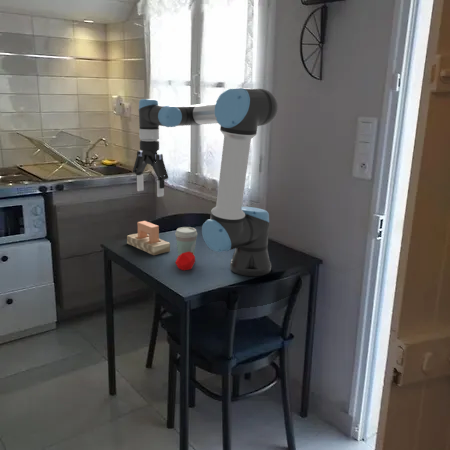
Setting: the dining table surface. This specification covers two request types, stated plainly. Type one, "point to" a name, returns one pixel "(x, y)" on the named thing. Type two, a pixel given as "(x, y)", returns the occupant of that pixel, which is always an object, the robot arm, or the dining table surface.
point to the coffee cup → (186, 239)
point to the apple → (185, 261)
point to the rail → (148, 244)
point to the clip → (148, 231)
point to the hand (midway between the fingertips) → (150, 193)
